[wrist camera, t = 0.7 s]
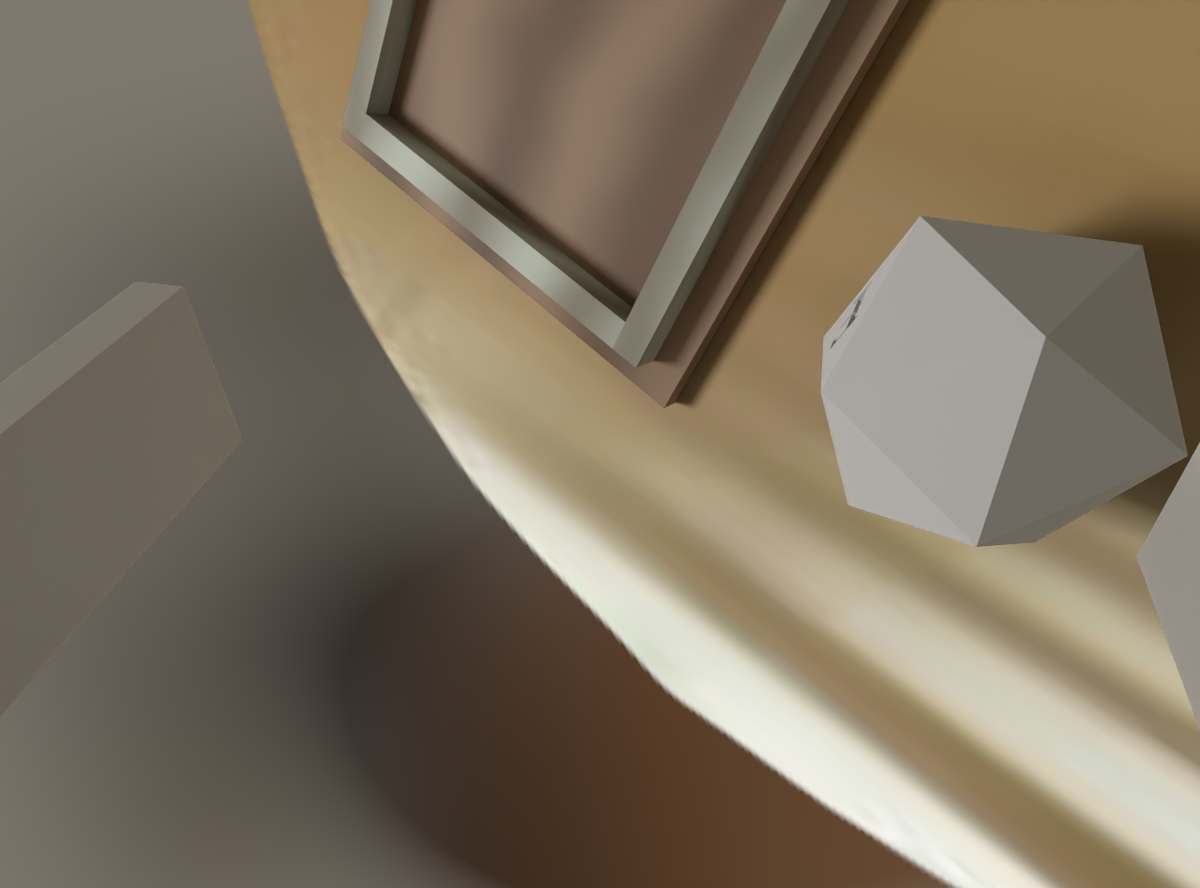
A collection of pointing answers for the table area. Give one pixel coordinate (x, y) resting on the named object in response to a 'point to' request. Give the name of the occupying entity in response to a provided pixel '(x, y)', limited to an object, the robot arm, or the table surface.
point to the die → (999, 382)
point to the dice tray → (612, 146)
